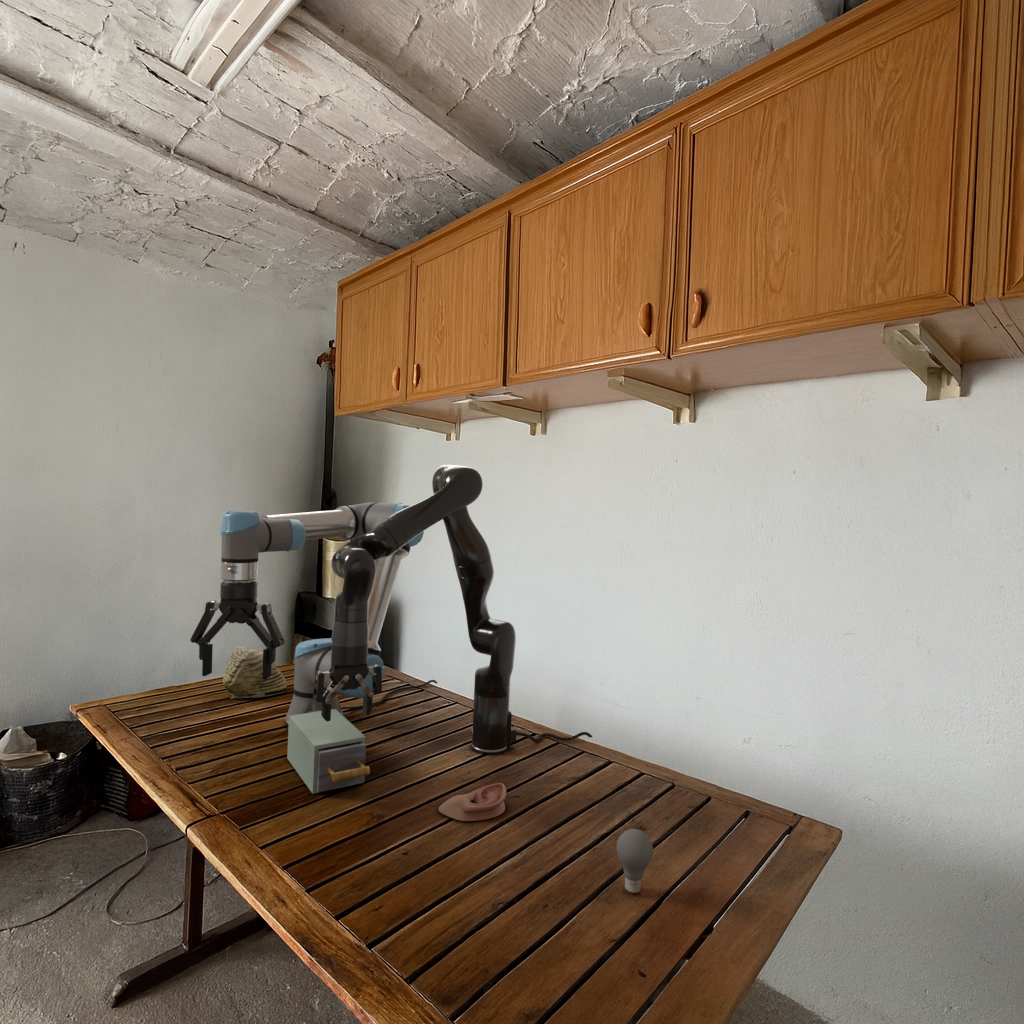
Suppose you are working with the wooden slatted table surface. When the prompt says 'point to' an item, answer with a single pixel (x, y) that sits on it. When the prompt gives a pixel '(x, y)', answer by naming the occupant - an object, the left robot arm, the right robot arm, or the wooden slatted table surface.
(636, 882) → the light bulb
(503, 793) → the anatomical model
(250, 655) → the fossil
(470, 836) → the wooden slatted table surface
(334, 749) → the drawer
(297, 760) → the cabinet
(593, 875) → the wooden slatted table surface
